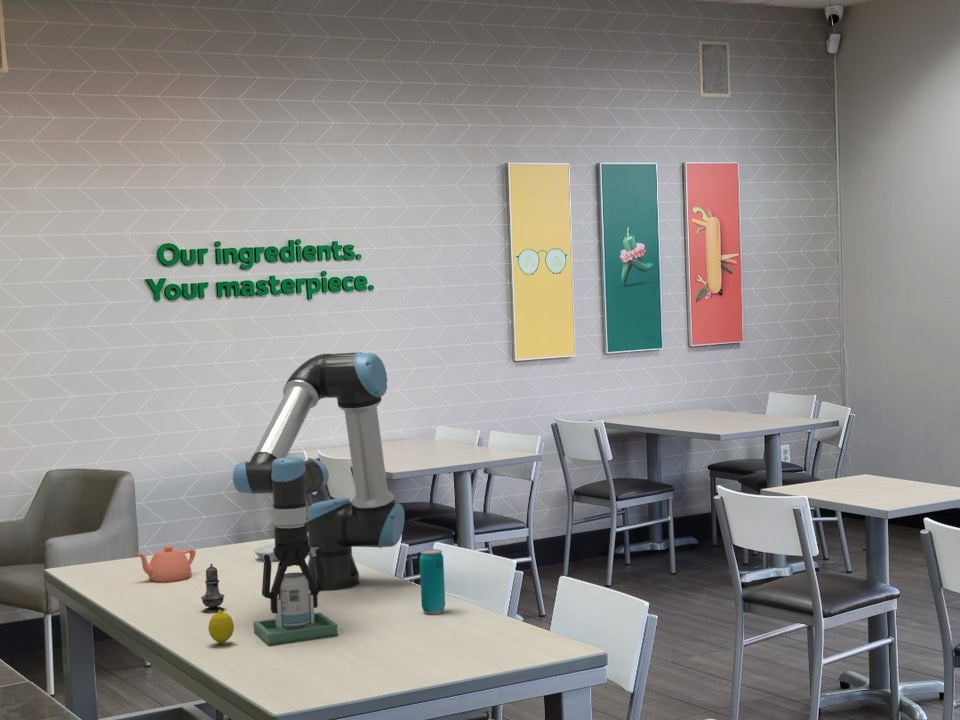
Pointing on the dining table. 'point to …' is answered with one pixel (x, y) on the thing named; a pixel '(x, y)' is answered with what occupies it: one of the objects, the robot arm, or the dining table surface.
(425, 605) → the beverage can
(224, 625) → the fruit
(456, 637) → the dining table surface
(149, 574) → the teapot
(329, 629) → the tray
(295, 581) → the beverage can
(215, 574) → the salt shaker
